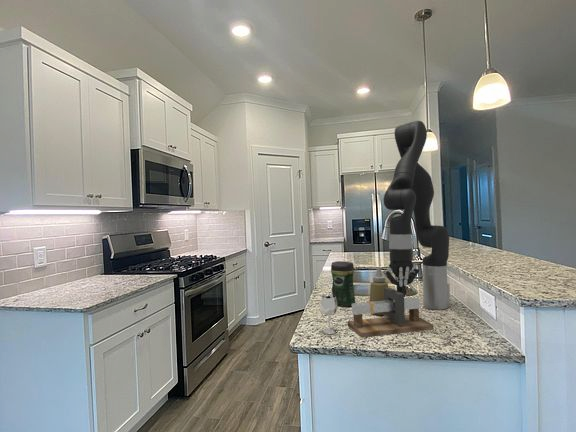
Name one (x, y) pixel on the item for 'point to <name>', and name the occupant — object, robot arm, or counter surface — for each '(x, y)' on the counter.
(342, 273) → the coffee jar
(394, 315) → the dark grey flat piece
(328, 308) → the wineglass
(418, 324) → the board
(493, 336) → the counter surface
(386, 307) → the grey square bar
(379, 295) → the squeeze bottle
